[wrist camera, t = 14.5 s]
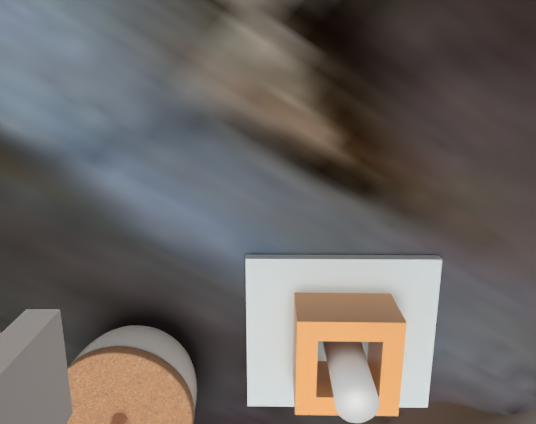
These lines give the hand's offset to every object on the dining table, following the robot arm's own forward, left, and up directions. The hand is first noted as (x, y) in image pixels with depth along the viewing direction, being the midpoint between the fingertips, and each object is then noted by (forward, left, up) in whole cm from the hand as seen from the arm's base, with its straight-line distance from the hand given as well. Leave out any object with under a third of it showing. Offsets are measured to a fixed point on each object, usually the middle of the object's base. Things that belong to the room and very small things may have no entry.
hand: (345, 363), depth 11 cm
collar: (+15, +4, -28) cm, 32 cm away
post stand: (+15, +4, -29) cm, 33 cm away
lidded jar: (+18, -13, -29) cm, 36 cm away
